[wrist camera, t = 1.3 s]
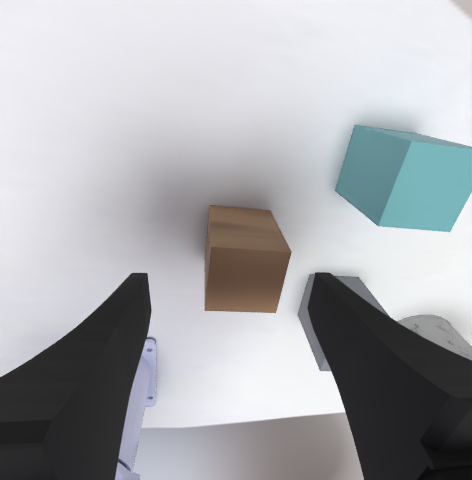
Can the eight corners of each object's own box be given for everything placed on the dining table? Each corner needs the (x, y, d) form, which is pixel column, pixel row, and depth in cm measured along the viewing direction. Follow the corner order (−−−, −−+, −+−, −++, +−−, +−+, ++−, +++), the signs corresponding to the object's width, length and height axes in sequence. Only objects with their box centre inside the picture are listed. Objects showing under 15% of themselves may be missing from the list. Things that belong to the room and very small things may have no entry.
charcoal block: (342, 315, 27) (375, 371, 22) (297, 314, 27) (320, 370, 21) (358, 276, 25) (398, 328, 20) (309, 274, 25) (337, 326, 19)
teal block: (390, 195, 22) (450, 231, 16) (334, 190, 21) (377, 226, 16) (415, 133, 20) (492, 151, 14) (354, 125, 19) (411, 141, 14)
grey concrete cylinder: (467, 311, 29) (625, 449, 18) (434, 374, 33) (545, 514, 22) (376, 317, 28) (483, 466, 17) (355, 381, 32) (430, 529, 22)
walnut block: (260, 261, 23) (275, 313, 18) (204, 258, 23) (204, 310, 18) (270, 210, 21) (291, 251, 16) (209, 205, 21) (211, 246, 15)
